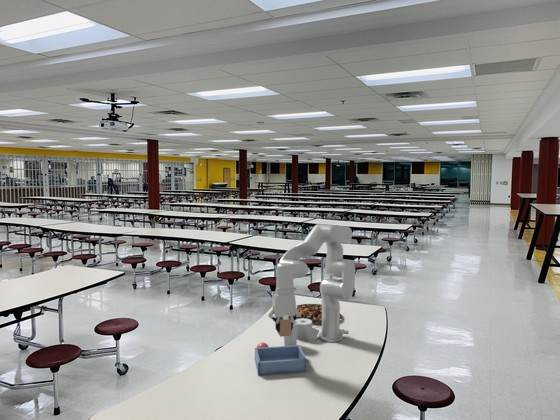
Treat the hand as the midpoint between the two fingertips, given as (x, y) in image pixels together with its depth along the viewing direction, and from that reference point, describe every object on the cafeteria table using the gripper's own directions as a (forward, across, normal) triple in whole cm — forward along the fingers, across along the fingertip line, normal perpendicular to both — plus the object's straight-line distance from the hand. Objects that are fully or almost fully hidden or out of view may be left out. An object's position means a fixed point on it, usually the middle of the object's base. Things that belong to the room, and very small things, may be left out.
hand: (284, 330), depth 174 cm
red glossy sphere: (+16, +7, -12) cm, 21 cm away
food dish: (+16, -34, -58) cm, 68 cm away
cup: (+16, -8, -19) cm, 26 cm away
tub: (+16, +2, 0) cm, 16 cm away
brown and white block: (+2, 0, 0) cm, 2 cm away
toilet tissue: (+16, -19, -27) cm, 37 cm away
